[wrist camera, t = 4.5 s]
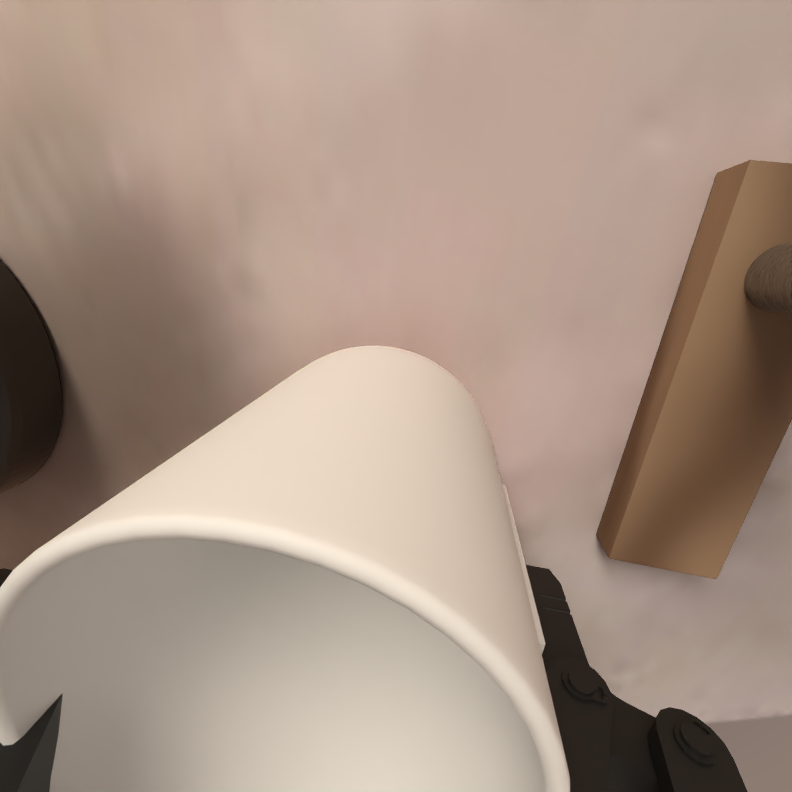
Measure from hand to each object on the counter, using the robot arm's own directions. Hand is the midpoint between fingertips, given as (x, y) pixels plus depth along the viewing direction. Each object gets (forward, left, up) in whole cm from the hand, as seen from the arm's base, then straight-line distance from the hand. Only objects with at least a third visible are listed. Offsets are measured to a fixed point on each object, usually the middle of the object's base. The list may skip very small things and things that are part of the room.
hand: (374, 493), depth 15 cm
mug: (0, 0, 0) cm, 1 cm away
